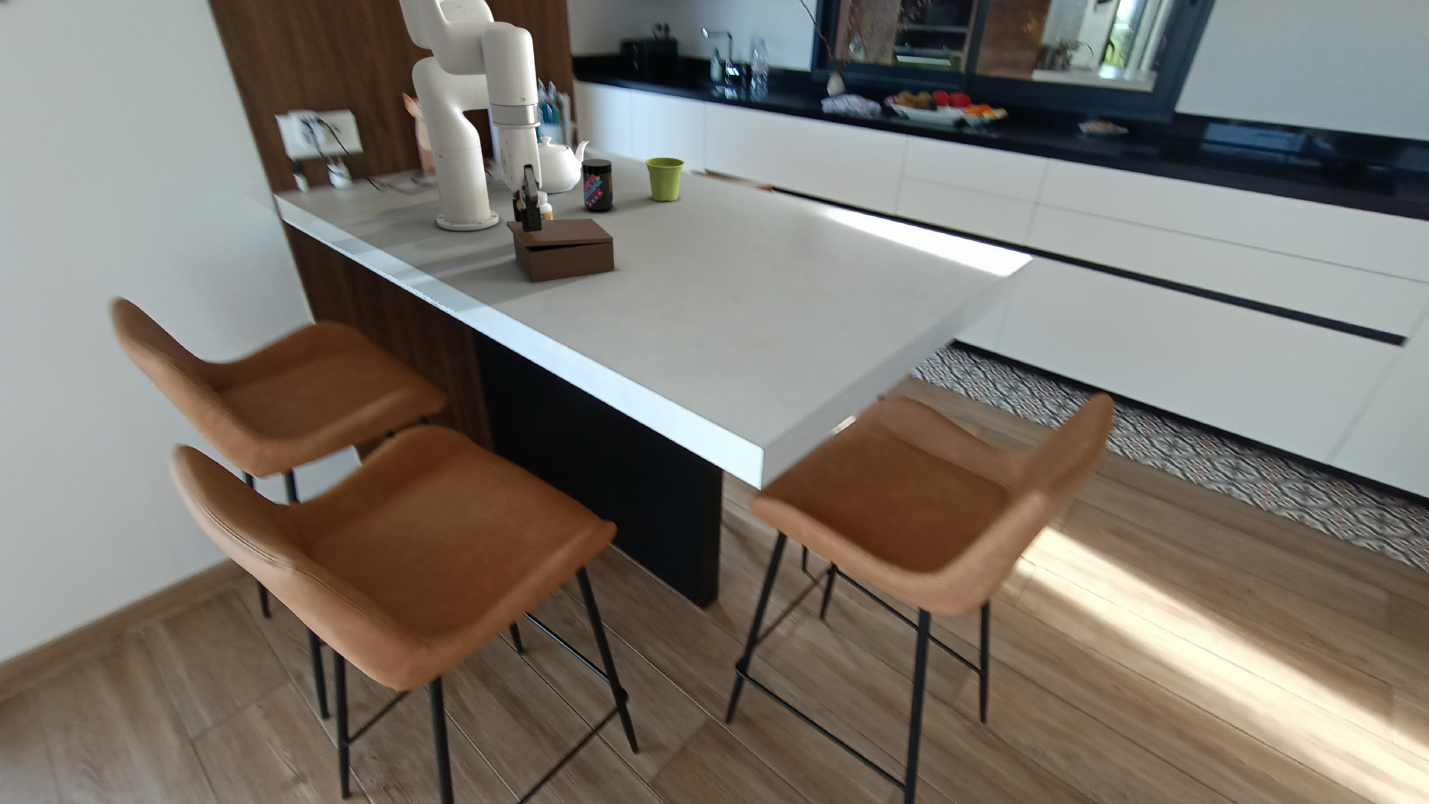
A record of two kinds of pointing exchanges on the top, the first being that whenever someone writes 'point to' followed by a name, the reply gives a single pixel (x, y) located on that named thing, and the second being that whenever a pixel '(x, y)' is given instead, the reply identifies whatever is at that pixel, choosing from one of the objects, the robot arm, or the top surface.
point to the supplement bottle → (544, 206)
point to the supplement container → (597, 185)
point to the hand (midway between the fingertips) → (528, 224)
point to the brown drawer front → (560, 232)
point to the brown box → (564, 259)
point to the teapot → (559, 165)
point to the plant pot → (664, 177)
